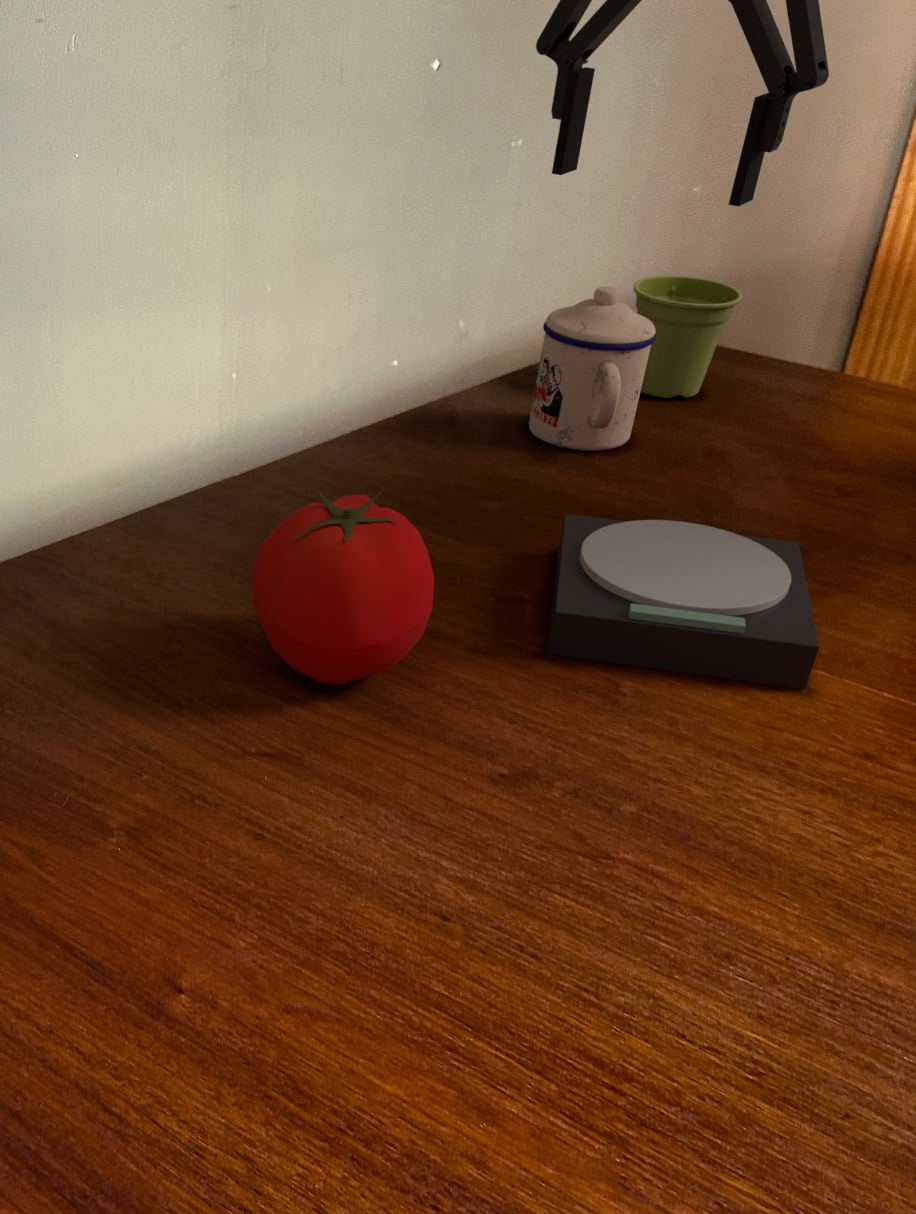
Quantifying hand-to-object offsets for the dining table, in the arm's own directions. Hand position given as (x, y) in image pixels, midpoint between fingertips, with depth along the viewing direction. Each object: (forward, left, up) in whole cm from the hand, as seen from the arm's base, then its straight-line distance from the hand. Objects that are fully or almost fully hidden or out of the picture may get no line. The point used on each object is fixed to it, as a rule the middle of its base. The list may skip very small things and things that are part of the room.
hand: (649, 187), depth 103 cm
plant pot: (-6, -22, -21) cm, 31 cm away
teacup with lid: (+1, -6, -21) cm, 22 cm away
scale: (-6, +26, -20) cm, 34 cm away
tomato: (+15, +39, -21) cm, 47 cm away
